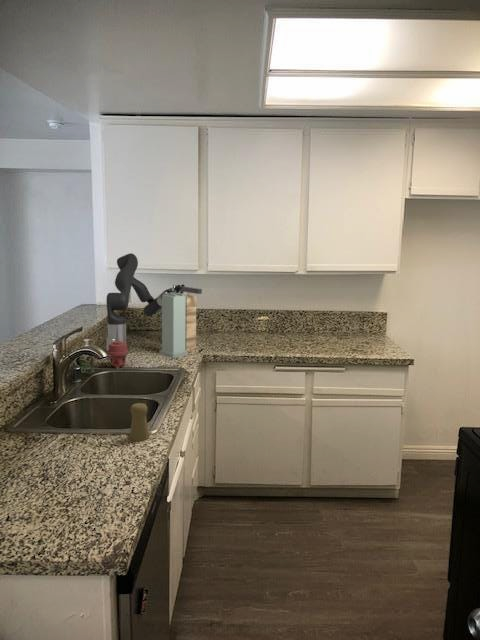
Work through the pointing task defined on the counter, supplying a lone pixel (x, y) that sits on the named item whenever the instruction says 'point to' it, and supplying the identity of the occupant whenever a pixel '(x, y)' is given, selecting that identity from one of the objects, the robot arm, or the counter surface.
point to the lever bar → (189, 289)
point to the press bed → (190, 322)
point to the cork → (139, 423)
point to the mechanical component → (118, 353)
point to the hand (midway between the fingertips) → (181, 286)
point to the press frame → (173, 325)
